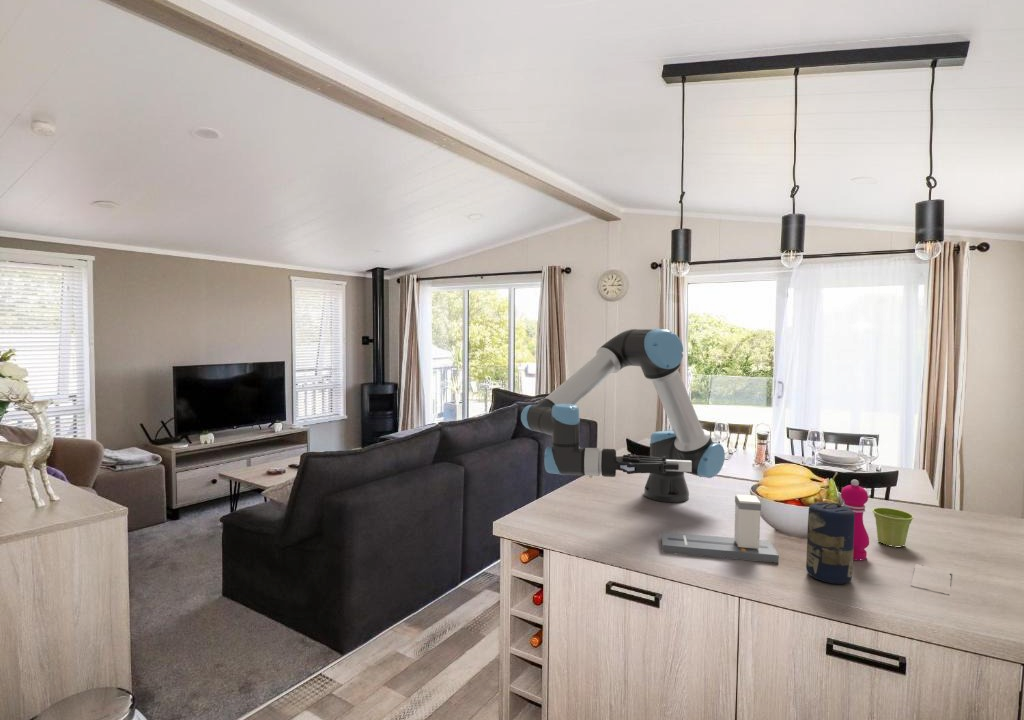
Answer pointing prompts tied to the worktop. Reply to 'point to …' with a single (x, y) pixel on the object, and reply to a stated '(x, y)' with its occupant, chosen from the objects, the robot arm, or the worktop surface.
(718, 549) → the fader console
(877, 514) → the plant pot
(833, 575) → the canister
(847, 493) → the pepper mill
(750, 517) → the fader knob
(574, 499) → the worktop surface
